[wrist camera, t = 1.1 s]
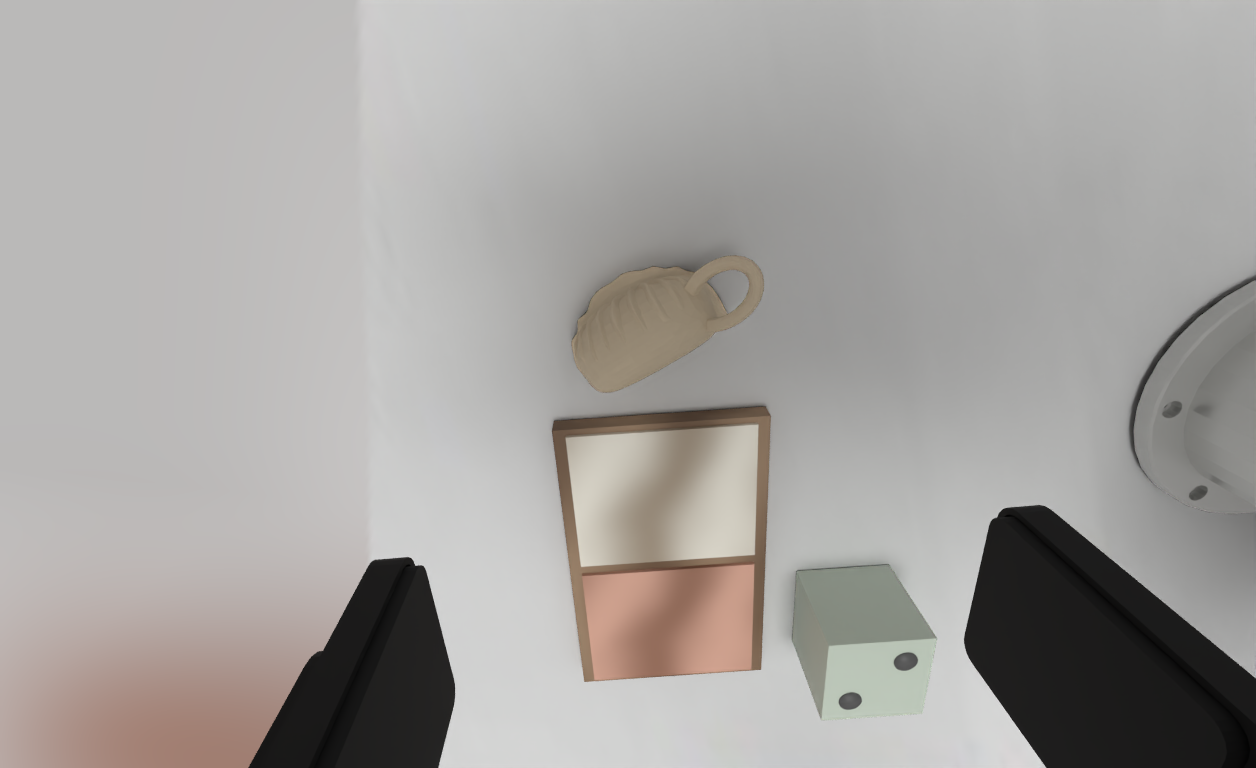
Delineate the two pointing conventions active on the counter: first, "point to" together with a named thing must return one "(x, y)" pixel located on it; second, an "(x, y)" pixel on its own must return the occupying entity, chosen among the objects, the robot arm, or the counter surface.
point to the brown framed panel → (666, 539)
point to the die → (861, 643)
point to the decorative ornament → (655, 320)
